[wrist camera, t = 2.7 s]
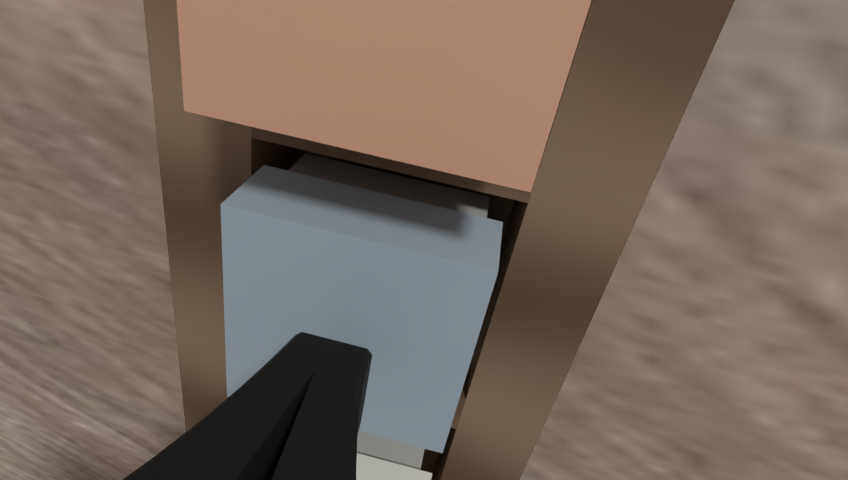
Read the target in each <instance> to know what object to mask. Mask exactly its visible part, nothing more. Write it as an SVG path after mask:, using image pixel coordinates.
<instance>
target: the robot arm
mask: <svg viewBox="0 0 848 480" xmlns="http://www.w3.org/2000/svg"><path fill="white" fill-rule="evenodd" d="M371 360H372V354H371V353H370V352H369V350H368V349H367V348H363V347H359V346H355V345H351V344H347V343H343V342H340V341H336V340H332V339H328V338H324V337H320V336H316V335H312V334H308V333H305V332H300V333H298V334H296V335H295V336H294V337H293V338H292V339H291V340H290V341H289V342H288V343H287V344H286V345H285V346H284V347H283V348H282V349H281V350H280V351H279V352H278V353H277V354H276V355H275V356H274V357H273V358H272V359H271V360H269V361H268V362H267V363H266V364H265V365H264V366H263V367H262V368H261V369H260V370H259V371H258V372H257V373H255V374H254V375H253V376H252V377H251V378H250V379H249V380H248V381H247V382H246V383H244V384H243V385H242V386H241V387H240V388H239V389H238V390H236V391H235V392H234V393H233V394H232V395H231V396H229V397H228V398H227V399H226V400H225V401H224V402H222V403H221V404H220V405H219V406H218V407H217V408H215V409H214V410H213V411H212V412H211V413H210V414H208V415H207V416H206V417H205V418H203V419H202V420H201V421H200V422H199V423H197V424H196V425H195V426H193V427H192V428H191V429H190V430H188V431H187V432H186V433H184V434H183V435H182V436H181V437H179V438H178V439H177V440H175V441H174V442H173V443H172V444H170V445H169V446H168V447H166V448H165V449H164V450H163V451H161V452H160V453H159V454H157V455H156V456H155V457H153V458H152V459H151V460H149V461H148V462H147V463H145V464H144V465H142V466H141V467H140V468H138V469H137V470H136V471H134V472H133V473H131V474H130V475H129V476H127V477H126V478H124V479H123V480H356V460H357V435H358V431H359V427H360V424H361V419H362V413H363V407H364V401H365V395H366V389H367V383H368V378H369V372H370V366H371Z"/></svg>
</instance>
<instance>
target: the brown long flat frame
mask: <svg viewBox="0 0 848 480" xmlns="http://www.w3.org/2000/svg"><path fill="white" fill-rule="evenodd" d="M143 1H144V11H145V21H146V31H147V41H148V52H149V62H150V72H151V82H152V92H153V102H154V112H155V122H156V132H157V142H158V152H159V163H160V173H161V183H162V193H163V203H164V213H165V223H166V233H167V243H168V253H169V264H170V274H171V284H172V294H173V304H174V314H175V324H176V334H177V344H178V354H179V364H180V375H181V385H182V395H183V405H184V415H185V425H186V432H187V431H188V430H190V429H191V428H192V427H193V426H195V425H196V424H197V423H199V422H200V421H201V420H202V419H203V418H205V417H206V416H207V415H208V414H210V413H211V412H212V411H213V410H214V409H215V408H217V407H218V406H219V405H220V404H221V403H222V402H224V401H225V400H226V399H227V398H228V396H227V381H226V352H225V322H224V293H223V264H222V234H221V205H220V204H221V203H222V202H223V201H225V200H226V199H227V198H228V197H229V196H230V195H231V194H232V193H233V192H234V191H236V190H237V189H238V188H239V187H240V186H241V185H242V184H243V183H244V182H246V181H247V180H248V179H249V178H250V177H251V176H252V175H253V174H254V173H255V172H257V171H258V170H259V169H260V168H261V167H262V166H263V165H266V166H271V167H275V168H279V169H283V170H287V171H288V170H289V169H290V168H291V167H292V166H293V165H294V164H295V163H296V162H297V161H298V160H299V159H300V158H301V157H302V156H303V155H304V154H305V153H307V154H311V155H315V156H320V157H324V158H328V159H332V160H336V161H341V162H345V163H349V164H353V165H358V166H362V167H366V168H370V169H375V170H379V171H383V172H387V173H391V174H396V175H400V176H404V177H408V178H413V179H417V180H421V181H425V182H429V183H434V184H438V185H442V186H446V187H451V188H455V189H459V190H463V191H468V192H472V193H476V194H480V195H484V196H489V197H490V200H489V206H488V213H487V218H488V219H492V220H497V221H501V222H503V227H502V238H501V248H500V259H499V270H498V275H497V278H496V281H495V284H494V288H493V291H492V294H491V297H490V301H489V304H488V307H487V310H486V314H485V317H484V320H483V323H482V327H481V330H480V333H479V336H478V340H477V343H476V346H475V349H474V353H473V356H472V359H471V363H470V366H469V369H468V372H467V376H466V379H465V382H464V385H463V389H462V392H461V395H460V398H459V402H458V405H457V408H456V411H455V415H454V418H453V421H452V424H451V428H450V431H449V434H448V437H447V441H446V444H445V447H444V450H443V453H439V452H435V451H432V450H428V449H425V450H424V455H423V460H422V465H421V470H422V471H426V472H430V473H432V478H431V480H520V477H521V475H522V473H523V471H524V469H525V466H526V464H527V462H528V460H529V457H530V455H531V453H532V451H533V449H534V446H535V444H536V442H537V440H538V437H539V435H540V433H541V431H542V428H543V426H544V424H545V422H546V420H547V417H548V415H549V413H550V411H551V408H552V406H553V404H554V402H555V400H556V397H557V395H558V393H559V391H560V388H561V386H562V384H563V382H564V379H565V377H566V375H567V373H568V371H569V368H570V366H571V364H572V362H573V359H574V357H575V355H576V353H577V351H578V348H579V346H580V344H581V342H582V339H583V337H584V335H585V333H586V330H587V328H588V326H589V324H590V322H591V319H592V317H593V315H594V313H595V310H596V308H597V306H598V304H599V302H600V299H601V297H602V295H603V293H604V290H605V288H606V286H607V284H608V282H609V279H610V277H611V275H612V273H613V270H614V268H615V266H616V264H617V261H618V259H619V257H620V255H621V253H622V250H623V248H624V246H625V244H626V241H627V239H628V237H629V235H630V233H631V230H632V228H633V226H634V224H635V221H636V219H637V217H638V215H639V212H640V210H641V208H642V206H643V204H644V201H645V199H646V197H647V195H648V192H649V190H650V188H651V186H652V184H653V181H654V179H655V177H656V175H657V172H658V170H659V168H660V166H661V163H662V161H663V159H664V157H665V155H666V152H667V150H668V148H669V146H670V143H671V141H672V139H673V137H674V135H675V132H676V130H677V128H678V126H679V123H680V121H681V119H682V117H683V114H684V112H685V110H686V108H687V106H688V103H689V101H690V99H691V97H692V94H693V92H694V90H695V88H696V86H697V83H698V81H699V79H700V77H701V74H702V72H703V70H704V68H705V66H706V63H707V61H708V59H709V57H710V54H711V52H712V50H713V48H714V45H715V43H716V41H717V39H718V37H719V34H720V32H721V30H722V28H723V25H724V23H725V21H726V19H727V17H728V14H729V12H730V10H731V8H732V5H733V3H734V1H735V0H592V1H591V4H590V7H589V10H588V13H587V16H586V20H585V23H584V26H583V29H582V32H581V35H580V39H579V42H578V45H577V48H576V51H575V54H574V57H573V61H572V64H571V67H570V70H569V73H568V76H567V80H566V83H565V86H564V89H563V92H562V95H561V99H560V102H559V105H558V108H557V111H556V114H555V118H554V121H553V124H552V127H551V130H550V133H549V137H548V140H547V143H546V146H545V149H544V152H543V155H542V159H541V162H540V165H539V168H538V171H537V174H536V178H535V181H534V184H533V187H532V190H531V192H527V191H523V190H519V189H514V188H510V187H506V186H502V185H497V184H493V183H489V182H485V181H480V180H476V179H472V178H467V177H463V176H459V175H455V174H450V173H446V172H442V171H438V170H433V169H429V168H425V167H421V166H416V165H412V164H408V163H404V162H399V161H395V160H391V159H387V158H382V157H378V156H374V155H370V154H365V153H361V152H357V151H353V150H348V149H344V148H340V147H336V146H331V145H327V144H323V143H319V142H314V141H310V140H306V139H302V138H297V137H293V136H289V135H285V134H280V133H276V132H272V131H268V130H263V129H259V128H255V127H250V126H246V125H242V124H238V123H233V122H229V121H225V120H221V119H216V118H212V117H208V116H204V115H199V114H195V113H191V112H187V111H184V103H183V88H182V73H181V59H180V44H179V30H178V15H177V0H143Z"/></svg>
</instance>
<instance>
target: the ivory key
mask: <svg viewBox="0 0 848 480" xmlns="http://www.w3.org/2000/svg"><path fill="white" fill-rule="evenodd" d="M424 450H425V449H424V448H420V447H417V446H413V445H409V444H405V443H401V442H398V441H394V440H390V439H386V438H382V437H379V436H375V435H371V434H367V433H364V432H360V431H358V435H357V460H356V480H431V478H432V473H430V472H426V471H422V470H421V465H422V460H423V455H424Z"/></svg>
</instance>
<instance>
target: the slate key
mask: <svg viewBox="0 0 848 480" xmlns="http://www.w3.org/2000/svg"><path fill="white" fill-rule="evenodd" d="M489 200H490V197H489V196H484V195H480V194H476V193H472V192H468V191H463V190H459V189H455V188H451V187H446V186H442V185H438V184H434V183H429V182H425V181H421V180H417V179H413V178H408V177H404V176H400V175H396V174H391V173H387V172H383V171H379V170H375V169H370V168H366V167H362V166H358V165H353V164H349V163H345V162H341V161H336V160H332V159H328V158H324V157H320V156H315V155H311V154H307V153H305V154H304V155H303V156H302V157H301V158H300V159H299V160H298V161H297V162H296V163H295V164H294V165H293V166H292V167H291V168H290V169H289V170H288V171H287V170H283V169H279V168H275V167H271V166H266V165H263V166H262V167H261V168H260V169H259V170H258V171H257V172H255V173H254V174H253V175H252V176H251V177H250V178H249V179H248V180H247V181H246V182H244V183H243V184H242V185H241V186H240V187H239V188H238V189H237V190H236V191H234V192H233V193H232V194H231V195H230V196H229V197H228V198H227V199H226V200H225V201H223V202H222V203H221V204H220V205H221V234H222V264H223V293H224V322H225V352H226V381H227V396H228V397H229V396H231V395H232V394H233V393H234V392H235V391H236V390H238V389H239V388H240V387H241V386H242V385H243V384H244V383H246V382H247V381H248V380H249V379H250V378H251V377H252V376H253V375H254V374H255V373H257V372H258V371H259V370H260V369H261V368H262V367H263V366H264V365H265V364H266V363H267V362H268V361H269V360H271V359H272V358H273V357H274V356H275V355H276V354H277V353H278V352H279V351H280V350H281V349H282V348H283V347H284V346H285V345H286V344H287V343H288V342H289V341H290V340H291V339H292V338H293V337H294V336H295V335H296V334H298V333H300V332H305V333H308V334H312V335H316V336H320V337H324V338H328V339H332V340H336V341H340V342H343V343H347V344H351V345H355V346H359V347H363V348H367V349H368V350H369V352H370V353H371V354H372V360H371V366H370V372H369V378H368V383H367V389H366V395H365V401H364V407H363V413H362V419H361V424H360V427H359V431H360V432H364V433H367V434H371V435H375V436H379V437H382V438H386V439H390V440H394V441H398V442H401V443H405V444H409V445H413V446H417V447H420V448H424V449H428V450H432V451H435V452H439V453H443V450H444V447H445V444H446V441H447V437H448V434H449V431H450V428H451V424H452V421H453V418H454V415H455V411H456V408H457V405H458V402H459V398H460V395H461V392H462V389H463V385H464V382H465V379H466V376H467V372H468V369H469V366H470V363H471V359H472V356H473V353H474V349H475V346H476V343H477V340H478V336H479V333H480V330H481V327H482V323H483V320H484V317H485V314H486V310H487V307H488V304H489V301H490V297H491V294H492V291H493V288H494V284H495V281H496V278H497V275H498V270H499V259H500V248H501V238H502V227H503V222H501V221H497V220H492V219H488V218H487V213H488V206H489Z"/></svg>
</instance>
